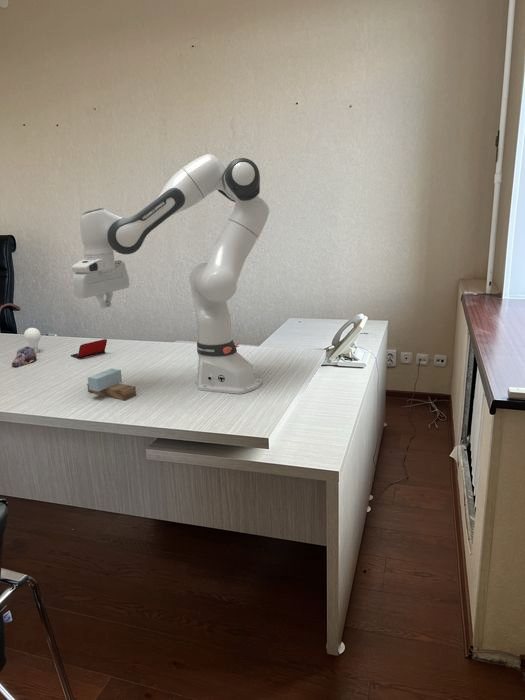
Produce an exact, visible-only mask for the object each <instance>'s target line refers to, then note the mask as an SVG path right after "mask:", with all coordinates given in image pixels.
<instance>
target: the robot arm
mask: <svg viewBox="0 0 525 700" xmlns="http://www.w3.org/2000/svg"><path fill="white" fill-rule="evenodd" d="M258 167H259V166H257V164H256V163H255V162H254V161H253V160H251V159H249V158H246V157H239V158H235V159H234V160H232V161H231V162H230V163H228V165H226V164H224V163H222V161H221V160H220V159H219V158H218V156H216V155H213V154H211V153H207V154H203V155H202V156H199V157H197V158H195V159H193V160H192V161H191V162H190V161H189V163H187V164H186V165H185V166H183V167H182V168H180V169H178V171H177V172H175V173H174V174H173V175H172V176H171V177H170V178H169V179H168V180H167V182H166V183H165V184H164V187H163V188H162V190H161V192H160V193H159V194H158V196H157V197H156V198H155V199H154V200H153V201H151V202H150V203H148V205H146V206H145V207H144V208H142V209H141V210H140V211H138V212H137V213H136V214H134V215H132V216H130V217H124V216H120V215H116V214H115V213H112V212H110V211H108V210H107V209H105V208H97V209H92V210H88V211H85V212H84V213H82V215H81V217H80V220H79V221H80V222H79V225H80V235H81V236H80V237H81V241H82V245H83V249H84V251H83V258H82V259H81V260H79V261H78V262H77V263H76V262H75V264H73V265H72V266H71V270H72V273H74V274H73V276H72V283H73V290H74V291H73V292H74V295H75V296H76V297H77V298H78V299H87V298H91V297H96V300H97V301H98V302H99V305H100V308H101V309H106V308H109V307H112V299H113V296H114V293H113V292H117V291H120V290H126V289H128V288H129V287H130V279H129V273H128V270H127V268H126V264H125V262H124V261H122V259H121V260H120V259H118V260H115V253H114V251H115V252H116V253H118V254H120V255H131V254H134V253H136V252H138V251H139V250H140V248H141V247H142V245H143V243H144V241H145V239H146V237H147V235H149V234H150V233H151V232H152V231H153V230H155V229H156V228H157V227H158V226H159V225H161V224H162V223H163V222H165V221H166V220H167V219H169V218H170V217H171V216H173V215H175V214H177V213H179V212H183V211H185V210H188V209H189V208H191V207H193V206H195V205H197V204H198V203H200V202H201V201H202V200H204V199H205V198H207V196H209V195H210V194H211V193H214V192H215V191H218V192H219V193H220V194H221V195H222V196H224V197H225V198H227V199H228V200H229V201H232V202H233V203H234V209H233V211H232V212H231V214H230V216H229V218H228V220H227V221H226V223H225V225H224V226H223V227H222V230H221V231H220V233H219V235H218V236H217V238H216V240H215V242H214V248H213V250H212V253H211V256H210V258H209V261H208V262H203V263H200V264H198V265H195V266H194V268H192V270H191V272H190V274H189V283H190V287H191V290H190V291H191V295H192V300H193V301H192V302H193V307H194V312H195V317H196V326H197V328H196V329H197V330H196V331H197V341H196V350H197V355H198V360H197V361H198V363H197V364H198V365H197V372H196V373H197V374H196V380H195V385H196V386H197V390H199V391H206V392H214V393H226V394H236V395H241V394H247V393H250V392H252V391H255V390H257V389H258V388H259V387H261V386H262V385H263V379H262V378H259V377H256V371H255V368H254V367H255V366H254V365H253V364H252V363H251V362H249V361H248V360H247V359H246V358H245V357H243V355H241V354H240V353H239V352H238V350H237V348H238V347H240V343H239V342H238V343H235V342H234V340H233V338H232V337H233V336H232V316H231V313H230V311H229V306H228V304H227V303H228V302H227V301H228V300H230V299H232V298H233V296H234V295H235V293H236V291H237V288H238V281H239V278H240V276H241V273H242V270H243V267H244V265H245V263H246V260H247V258H248V256H249V255H250V253H251V251H252V249H253V248H254V247H255V244H256V242H257V240H258V239H259V238H260V235H261V233H262V231H263V230H264V228H265V225H266V223H267V220H268V217H269V214H270V207H269V205H268V204H267V202H266V201H265V200H264V199H262V197H260V196H259V195H260V191H261V183H260V182H261V175H260V174H261V173H260V170H259V168H258ZM104 297H105V299H104Z"/></svg>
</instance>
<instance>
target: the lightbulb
mask: <svg viewBox="0 0 525 700" xmlns="http://www.w3.org/2000/svg"><path fill="white" fill-rule="evenodd" d="M41 337H42V335H41V331H40V330H39V329H38V328H35V327H29V328H27V329H25V331H24V333H23V338H24V340H25V341H26V342H27V343H28V346H29V347H32V348H33V349H34V351H35V353H36V354H37V353H39V348H38V347H39V342H40V340H41Z"/></svg>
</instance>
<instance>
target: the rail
mask: <svg viewBox="0 0 525 700" xmlns="http://www.w3.org/2000/svg"><path fill="white" fill-rule="evenodd" d="M86 385H87V392H90V393H89V394H92V393H94V395H98V396H103V397H107V398H111V399H114V400H115V399H116V400H119V401H120V400H121V401H123V402H124V401H125V402H126V401H127V400H129V399H132V398H135V397H136V396H137V390H136V389H137V388H136V386H134V385H129V384H125V383H118V384H116V385H113V386H111V387H108V388H106V389H103V390H101V391H93V390H89V385H88V383H87V384H86Z"/></svg>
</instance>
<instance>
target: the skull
mask: <svg viewBox="0 0 525 700" xmlns="http://www.w3.org/2000/svg"><path fill="white" fill-rule="evenodd" d="M35 361H37V353H35V351H34V349H33V348H32V347H30V346H29V345H28V346H25V347H23V348H19V349H18V350H17V351H16V357H14V359H13V360H12V362H11V367H18V368H20V367H23V366H26V365H29V364H31V363H35Z"/></svg>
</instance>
